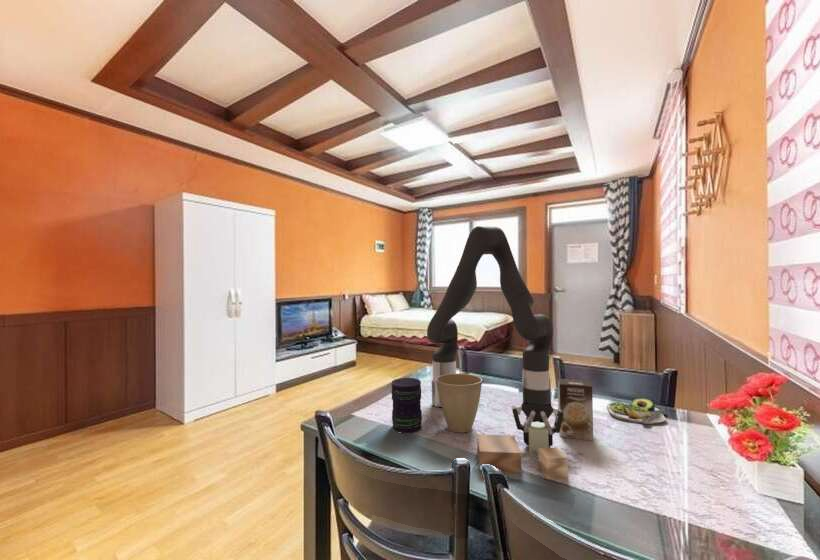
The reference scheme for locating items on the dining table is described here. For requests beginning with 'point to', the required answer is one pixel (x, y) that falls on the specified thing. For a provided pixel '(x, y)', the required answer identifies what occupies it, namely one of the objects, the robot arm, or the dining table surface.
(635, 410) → the salad plate
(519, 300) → the robot arm
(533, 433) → the sage block
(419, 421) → the storage jar
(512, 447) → the walnut block
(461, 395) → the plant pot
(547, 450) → the maple block
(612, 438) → the dining table surface
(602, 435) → the dining table surface
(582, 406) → the coffee box
